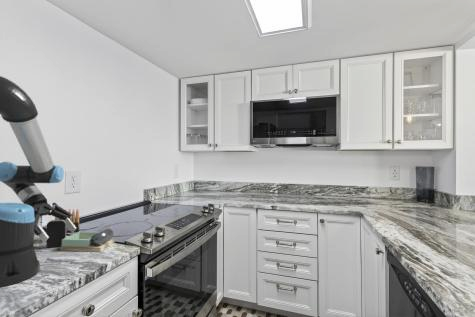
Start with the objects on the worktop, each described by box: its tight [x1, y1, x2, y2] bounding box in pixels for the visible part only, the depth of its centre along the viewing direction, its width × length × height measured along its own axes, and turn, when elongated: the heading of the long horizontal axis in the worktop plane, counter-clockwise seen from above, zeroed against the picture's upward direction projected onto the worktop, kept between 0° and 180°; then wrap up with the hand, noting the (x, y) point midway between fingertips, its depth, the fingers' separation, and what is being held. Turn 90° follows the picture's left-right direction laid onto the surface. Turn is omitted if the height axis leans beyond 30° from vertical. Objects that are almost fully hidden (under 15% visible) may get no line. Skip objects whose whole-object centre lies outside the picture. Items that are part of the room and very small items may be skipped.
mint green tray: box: [59, 228, 116, 253], centre depth 106 cm, size 12×17×6 cm
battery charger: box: [45, 219, 67, 249], centre depth 105 cm, size 7×4×11 cm, turn 114°
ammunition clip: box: [54, 208, 80, 234], centre depth 124 cm, size 11×2×12 cm, turn 113°
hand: (61, 234), depth 105 cm, fingers open, 13 cm apart
